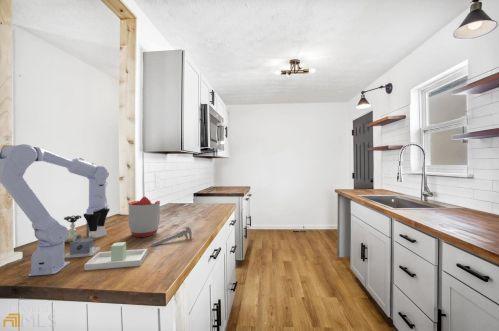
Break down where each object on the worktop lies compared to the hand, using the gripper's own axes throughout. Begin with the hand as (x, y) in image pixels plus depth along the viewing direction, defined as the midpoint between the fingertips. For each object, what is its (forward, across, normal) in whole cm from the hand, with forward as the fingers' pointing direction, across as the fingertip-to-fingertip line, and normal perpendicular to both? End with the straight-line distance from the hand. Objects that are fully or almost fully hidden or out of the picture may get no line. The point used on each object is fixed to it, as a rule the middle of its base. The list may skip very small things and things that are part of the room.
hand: (97, 228), depth 97 cm
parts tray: (+10, -10, -11) cm, 18 cm away
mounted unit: (+10, +2, +6) cm, 12 cm away
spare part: (+10, -10, -11) cm, 18 cm away
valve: (+11, +20, +18) cm, 29 cm away
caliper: (+11, +10, -28) cm, 31 cm away
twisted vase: (+11, +28, +10) cm, 32 cm away
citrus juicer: (+11, +27, -13) cm, 32 cm away
